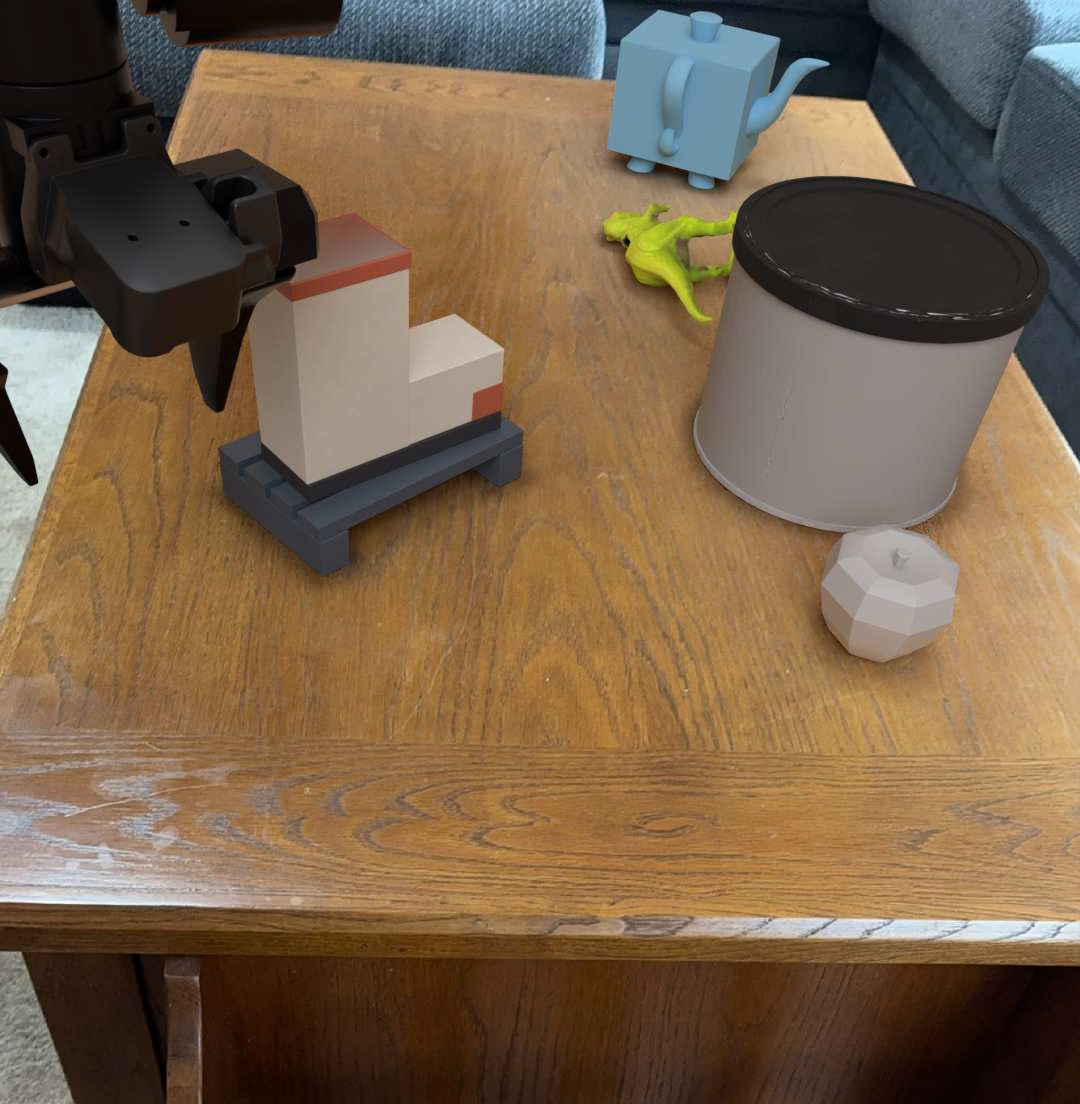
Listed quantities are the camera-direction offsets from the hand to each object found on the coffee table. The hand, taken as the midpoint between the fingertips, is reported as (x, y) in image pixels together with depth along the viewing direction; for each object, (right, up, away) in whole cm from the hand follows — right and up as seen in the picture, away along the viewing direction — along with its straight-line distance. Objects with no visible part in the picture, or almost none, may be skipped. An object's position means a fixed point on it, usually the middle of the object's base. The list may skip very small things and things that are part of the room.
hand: (126, 443), depth 50 cm
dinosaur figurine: (+29, +24, +43) cm, 57 cm away
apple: (+38, -8, +15) cm, 41 cm away
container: (+38, +6, +28) cm, 48 cm away
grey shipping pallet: (+8, +3, +21) cm, 22 cm away
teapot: (+35, +42, +59) cm, 80 cm away
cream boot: (+9, +5, +18) cm, 21 cm away
